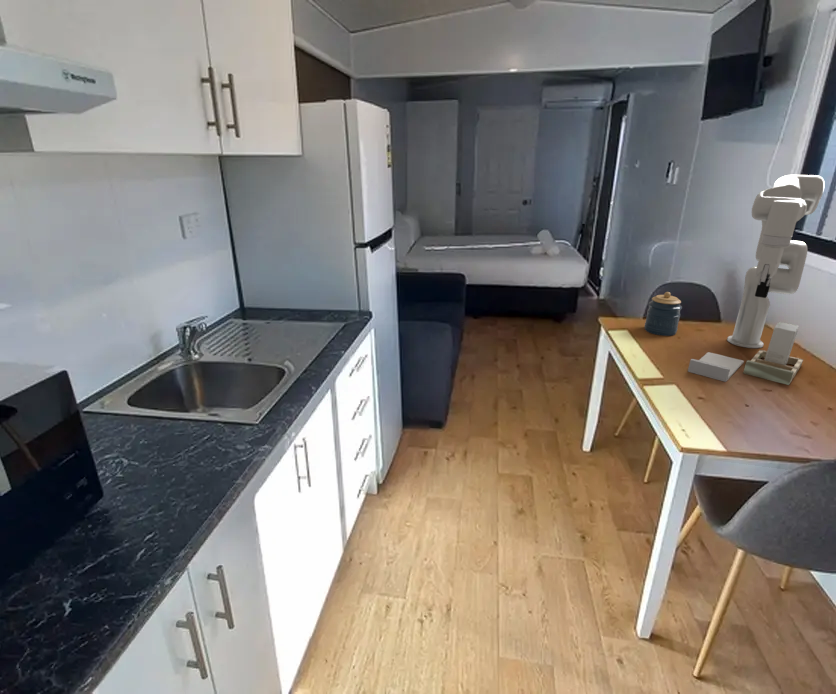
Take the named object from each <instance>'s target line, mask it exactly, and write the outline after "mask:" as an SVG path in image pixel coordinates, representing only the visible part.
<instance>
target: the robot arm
mask: <svg viewBox="0 0 836 694" xmlns="http://www.w3.org/2000/svg"><path fill="white" fill-rule="evenodd" d="M824 191H825V180H824V178H823V177H822V176H820V175H816V174H815V175H814V174H809V175H808V174H787V175H784V176H781V177H779V178H778V179H777V180H776V181H775V182H774V184H773V187H772V188H771V187H770V188H767V189H764V190H762V191H760V192H758V194H757V195H756V197H755V198H754V201H753V203H752V208H751V217H752V218H753V219H754V220H756V221H761V225H762V226H761V231H760V234H759V238H758V243H757V247H756V251H755V259H756V261H757V266H752V267H750V268H748V269H747V271H746V273H745V276H744V283H743V284H744V287H743V293H742V297H741V302H740V306H739V310H738V314H737V318H736V321H735V324H734V325H735V326H734V327H733V328H734V330H733V332H732V335H729V336H727V338H726V341H727V342H728V343H730V344H732V345H734V346H736V347H742V348H748V349H760V348H763V347H764V342H763V341H762V340H761V337H762V334H763V331H764V327H765V324H766V320H767V316H768V313H769V309H770V306H771V301H770V299H769V298H768V295H769V293H773V294H780V295H793V294H795V293H797V291H798V289H799V287H800V283H801V279H802V276H803V272H804V267H805V264H806V260H807V257H808V256H807V255H808V245H807V244H806V243H805V242H804V241H801V240H794V239H793V240H792V237H793V234H794V231H795V228H796V224H797V222H798V221H800V220H801V219H802V218H803V217H804V216H808V215H812V214H813V213H814V212H815V211H816V209H817V208H818V205H819V203H820V202H821V199H822V197H823V194H824ZM780 266H786V267H787V268H781V267H780Z"/></svg>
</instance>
